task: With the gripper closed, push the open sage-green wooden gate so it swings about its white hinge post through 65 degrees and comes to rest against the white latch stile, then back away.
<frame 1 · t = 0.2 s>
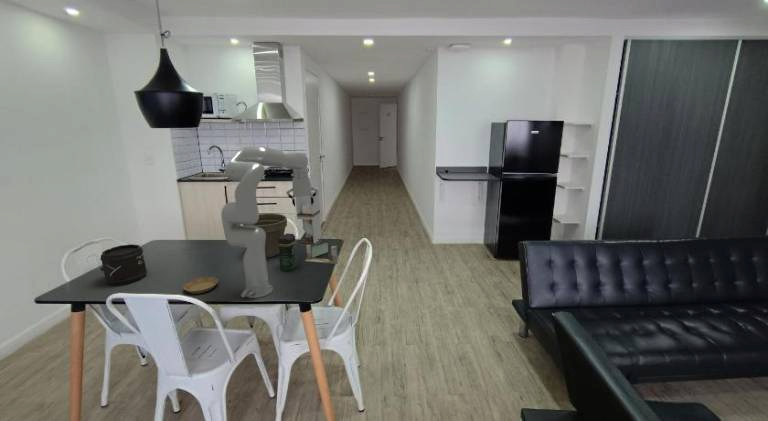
hand: (303, 205, 196), 30 cm above the table, fingers open, 9 cm apart
gate: (319, 250, 201), point 4 cm above the table, hinge at 65.0°
plant pot: (268, 253, 207), on the table
plant saucer: (201, 288, 165), on the table
black round bag: (126, 279, 176), on the table
gate frame: (309, 260, 196), on the table
display case: (310, 243, 224), on the table
coffee jar: (289, 267, 187), on the table
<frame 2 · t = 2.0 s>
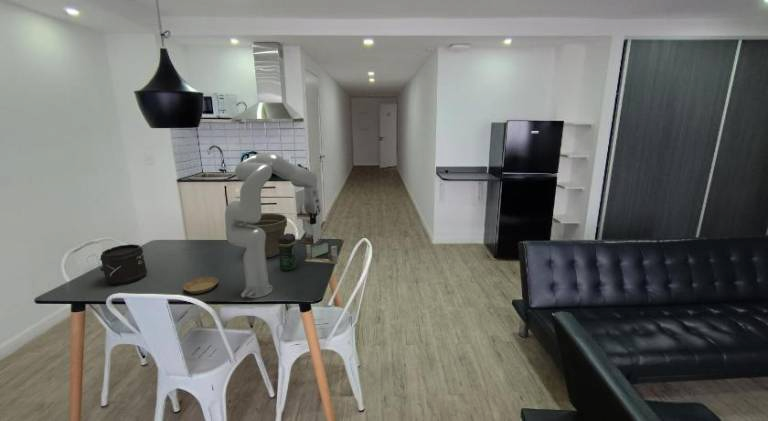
hand: (313, 223, 201), 19 cm above the table, fingers closed
nothing on the table moved.
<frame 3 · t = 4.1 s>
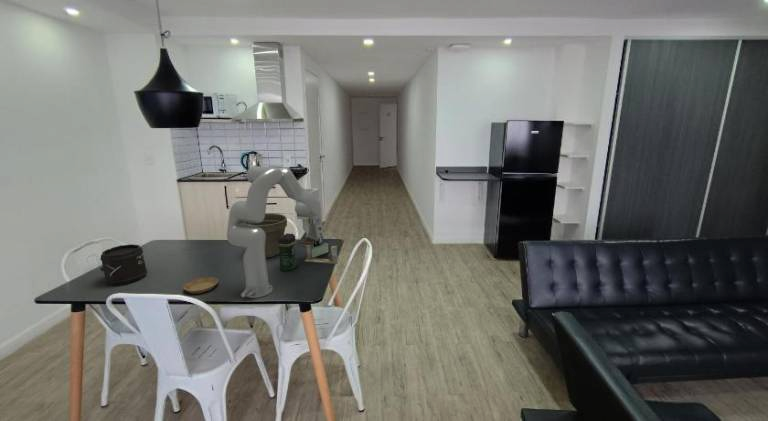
hand: (316, 250, 203), 3 cm above the table, fingers closed
gate: (319, 250, 201), point 4 cm above the table, hinge at 63.4°, touching gripper
everything else where it was.
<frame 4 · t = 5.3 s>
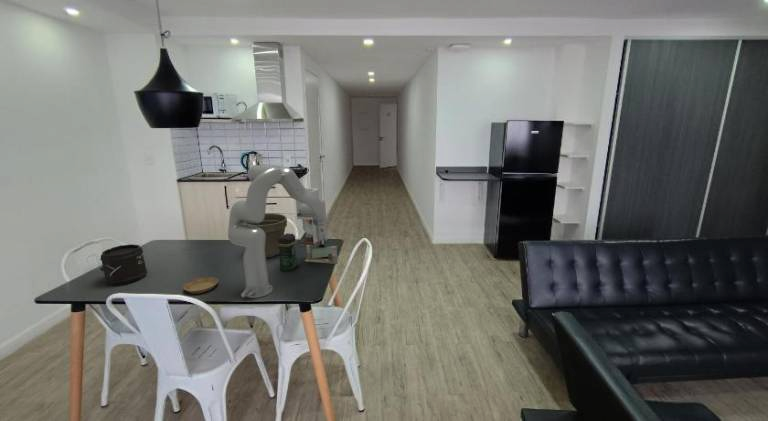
hand: (322, 251, 201), 3 cm above the table, fingers closed
gate: (322, 252, 198), point 4 cm above the table, hinge at 32.9°, touching gripper
everything else where it was.
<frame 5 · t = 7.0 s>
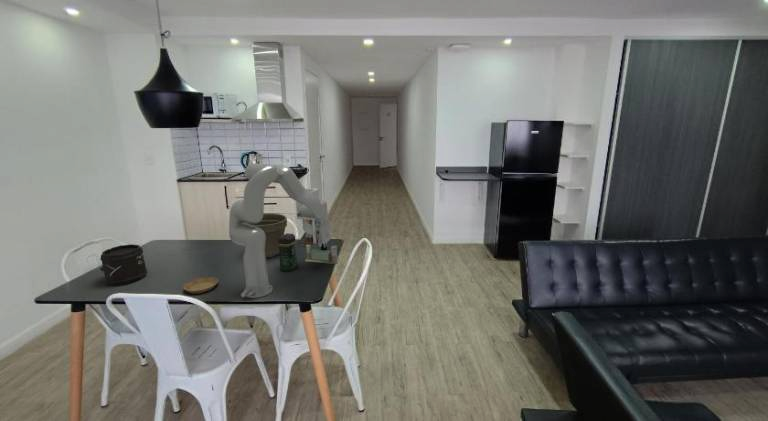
hand: (324, 253, 196), 4 cm above the table, fingers closed
gate: (321, 255, 193), point 4 cm above the table, hinge at -0.4°, touching gate frame, gripper
everything else where it was.
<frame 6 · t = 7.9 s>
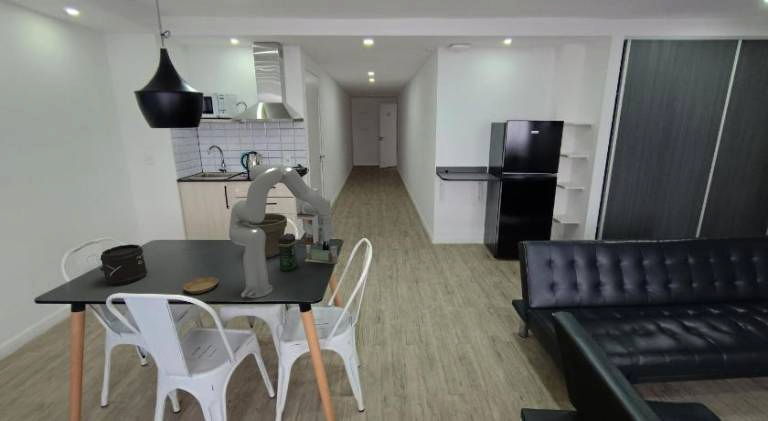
hand: (325, 251, 198), 4 cm above the table, fingers closed
gate: (321, 255, 193), point 4 cm above the table, hinge at -0.4°
everything else where it was.
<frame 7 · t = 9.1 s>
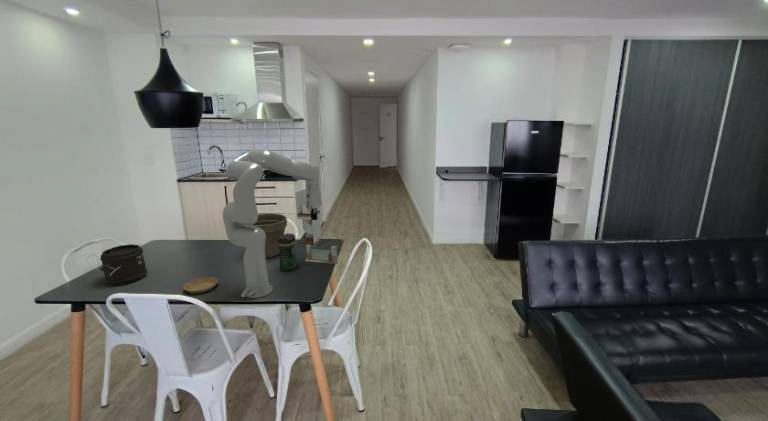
hand: (314, 219, 193), 23 cm above the table, fingers closed
nothing on the table moved.
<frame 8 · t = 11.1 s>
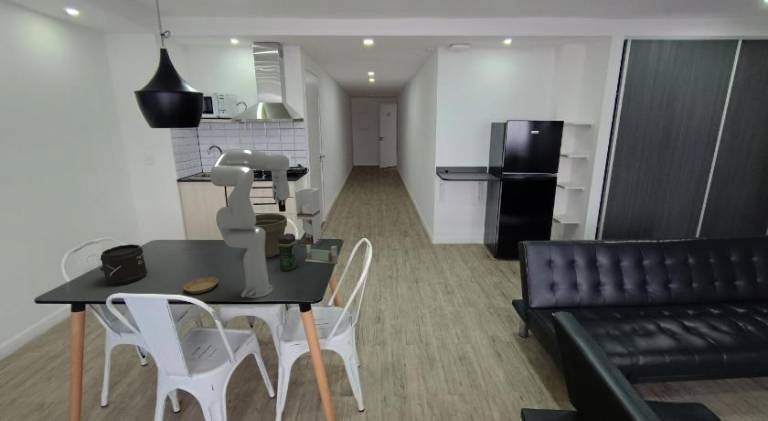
hand: (282, 211, 188), 29 cm above the table, fingers closed
nothing on the table moved.
at the end: gate at +0° (first picture: +65°) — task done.
